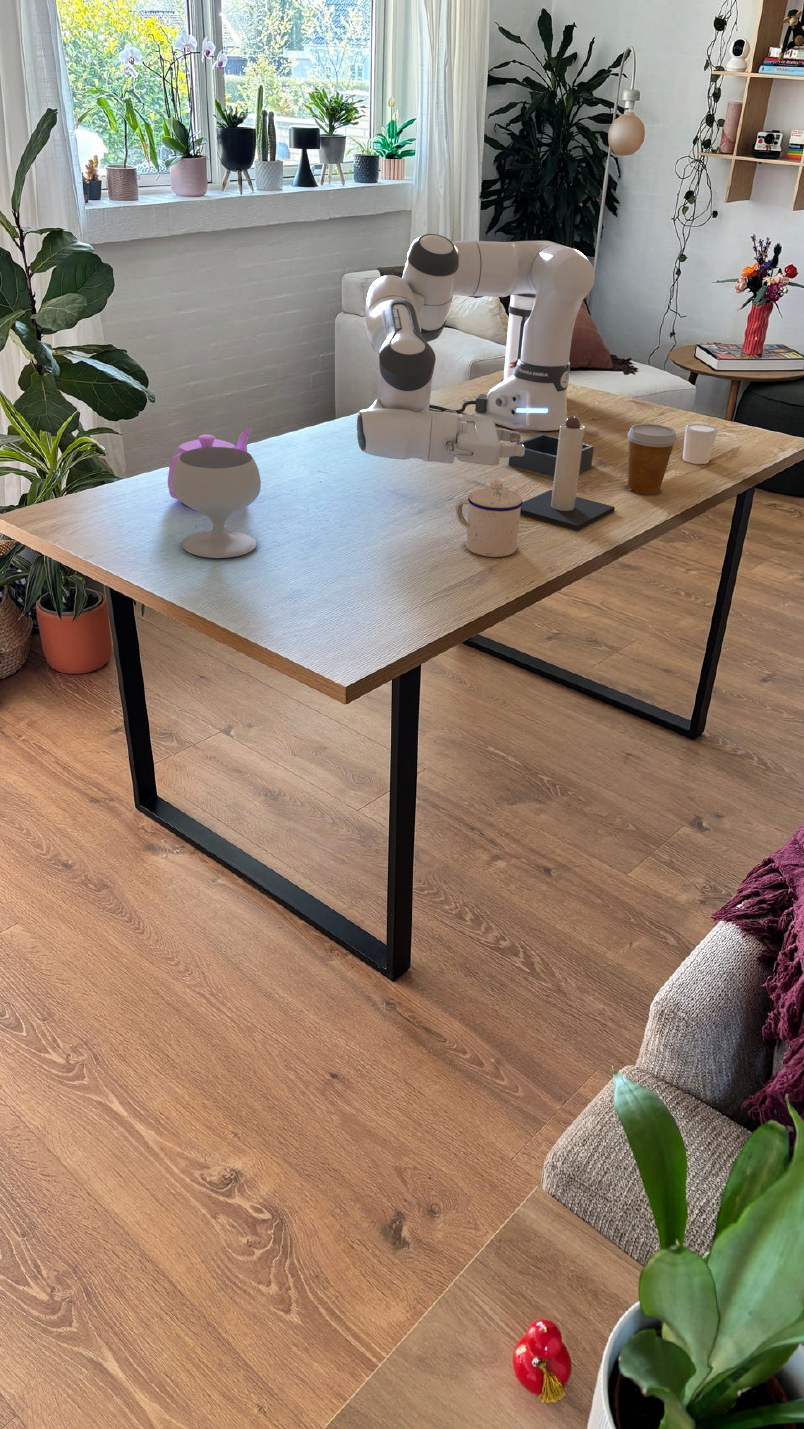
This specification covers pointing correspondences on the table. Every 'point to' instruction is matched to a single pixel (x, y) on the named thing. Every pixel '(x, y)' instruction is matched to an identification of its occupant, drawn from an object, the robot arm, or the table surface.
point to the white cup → (698, 443)
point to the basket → (546, 455)
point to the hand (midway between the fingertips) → (522, 444)
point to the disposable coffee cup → (648, 456)
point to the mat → (571, 519)
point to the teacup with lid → (491, 520)
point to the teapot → (202, 443)
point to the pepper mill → (567, 464)
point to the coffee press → (516, 328)
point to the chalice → (217, 496)
